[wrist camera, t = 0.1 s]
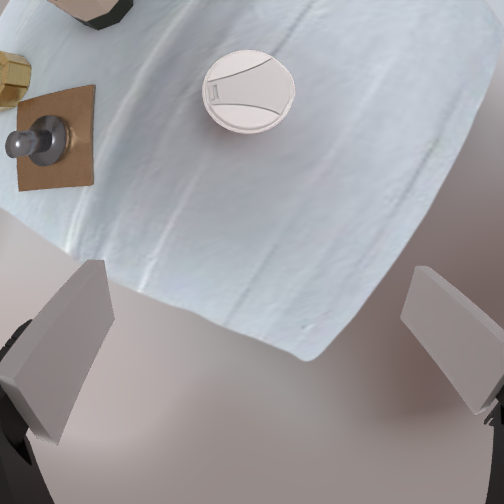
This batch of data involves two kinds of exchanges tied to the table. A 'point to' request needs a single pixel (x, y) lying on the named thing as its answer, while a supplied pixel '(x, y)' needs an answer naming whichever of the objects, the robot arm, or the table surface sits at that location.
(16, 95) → the collar
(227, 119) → the paper cup
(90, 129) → the doorknob
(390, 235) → the table surface
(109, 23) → the wine bottle
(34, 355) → the robot arm
